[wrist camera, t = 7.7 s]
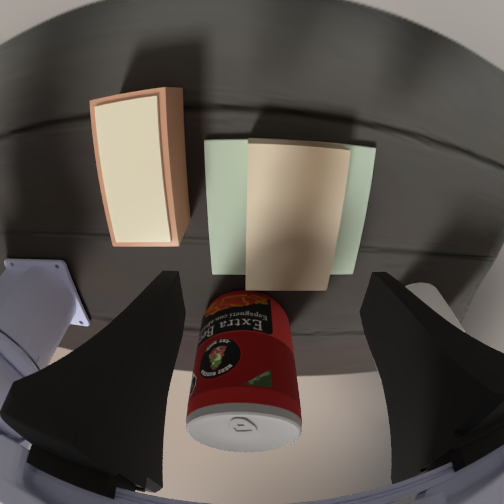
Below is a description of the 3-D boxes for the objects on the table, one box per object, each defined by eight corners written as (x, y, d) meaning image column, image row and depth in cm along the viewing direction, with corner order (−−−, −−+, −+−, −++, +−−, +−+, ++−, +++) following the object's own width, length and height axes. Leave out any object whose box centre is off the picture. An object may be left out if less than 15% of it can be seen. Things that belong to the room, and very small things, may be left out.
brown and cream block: (133, 219, 20) (112, 248, 16) (118, 96, 15) (87, 101, 11) (190, 218, 20) (178, 248, 16) (182, 87, 15) (164, 86, 11)
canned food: (267, 273, 22) (276, 402, 13) (300, 334, 26) (316, 441, 17) (185, 304, 24) (159, 419, 15) (229, 356, 28) (223, 456, 18)
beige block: (245, 273, 22) (245, 290, 20) (248, 137, 16) (247, 143, 15) (321, 274, 22) (326, 290, 20) (340, 143, 16) (350, 150, 15)
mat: (212, 271, 22) (212, 274, 22) (204, 139, 17) (204, 140, 16) (351, 271, 22) (352, 274, 22) (373, 147, 17) (375, 148, 16)
